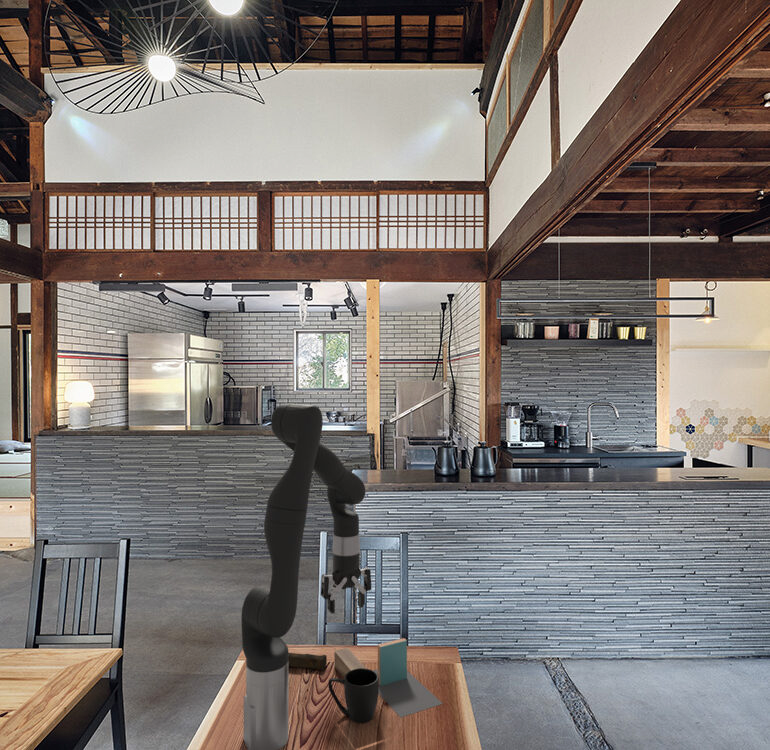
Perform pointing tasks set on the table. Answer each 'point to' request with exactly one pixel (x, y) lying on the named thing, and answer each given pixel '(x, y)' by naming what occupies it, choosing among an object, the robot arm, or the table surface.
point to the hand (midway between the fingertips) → (346, 609)
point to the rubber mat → (407, 696)
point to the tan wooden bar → (346, 661)
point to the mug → (358, 694)
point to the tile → (392, 661)
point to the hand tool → (308, 661)
